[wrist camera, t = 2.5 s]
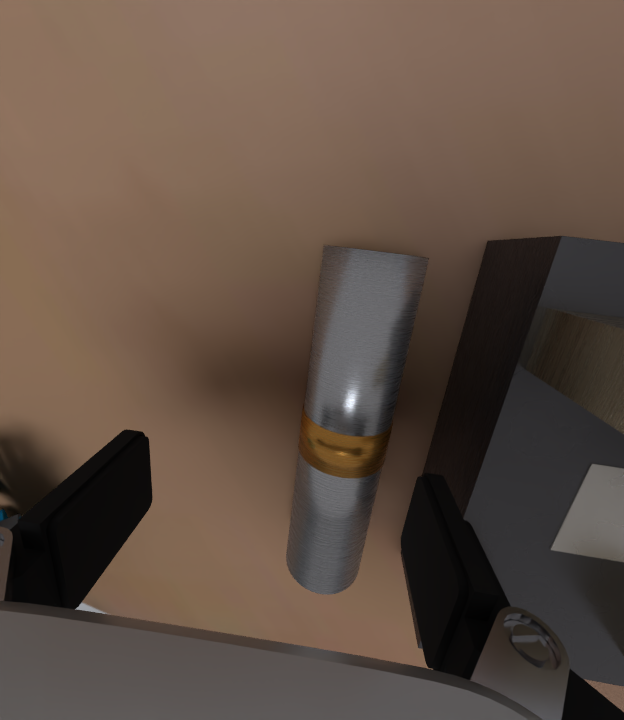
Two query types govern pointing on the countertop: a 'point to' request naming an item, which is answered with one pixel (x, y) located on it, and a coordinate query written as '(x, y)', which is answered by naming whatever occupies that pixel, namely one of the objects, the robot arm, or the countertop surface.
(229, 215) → the countertop surface
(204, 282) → the countertop surface
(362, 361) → the tube
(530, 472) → the grey plate with feet
